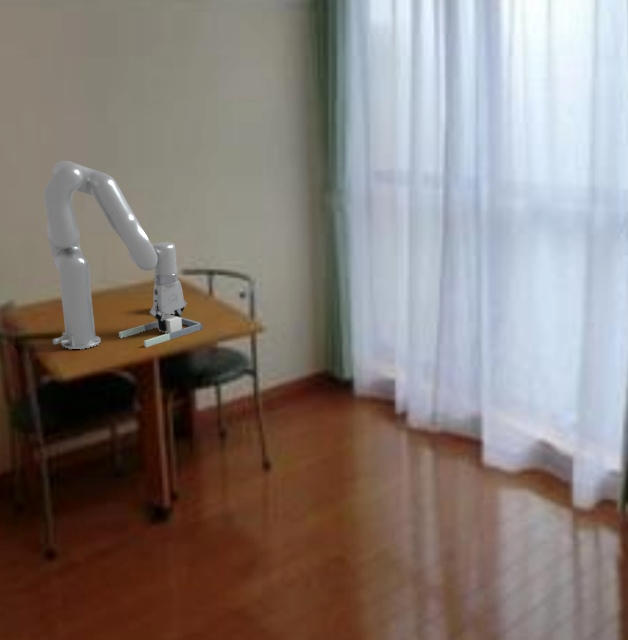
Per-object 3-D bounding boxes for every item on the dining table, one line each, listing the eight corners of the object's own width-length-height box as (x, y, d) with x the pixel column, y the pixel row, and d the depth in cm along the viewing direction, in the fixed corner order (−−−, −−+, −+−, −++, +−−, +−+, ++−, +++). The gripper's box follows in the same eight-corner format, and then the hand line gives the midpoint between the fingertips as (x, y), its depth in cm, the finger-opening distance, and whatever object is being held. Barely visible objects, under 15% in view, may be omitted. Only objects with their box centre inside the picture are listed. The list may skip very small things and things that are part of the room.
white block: (170, 335, 291) (169, 321, 289) (158, 330, 296) (157, 317, 294) (182, 331, 295) (181, 317, 293) (169, 327, 299) (168, 313, 298)
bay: (146, 347, 279) (145, 341, 278) (119, 337, 289) (118, 332, 288) (202, 329, 296) (202, 323, 295) (175, 320, 306) (175, 315, 305)
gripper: (152, 285, 281) (156, 336, 286) (193, 275, 293) (196, 324, 298) (139, 281, 286) (143, 332, 291) (179, 271, 298) (182, 320, 303)
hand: (170, 327), depth 295 cm, fingers open, 5 cm apart
